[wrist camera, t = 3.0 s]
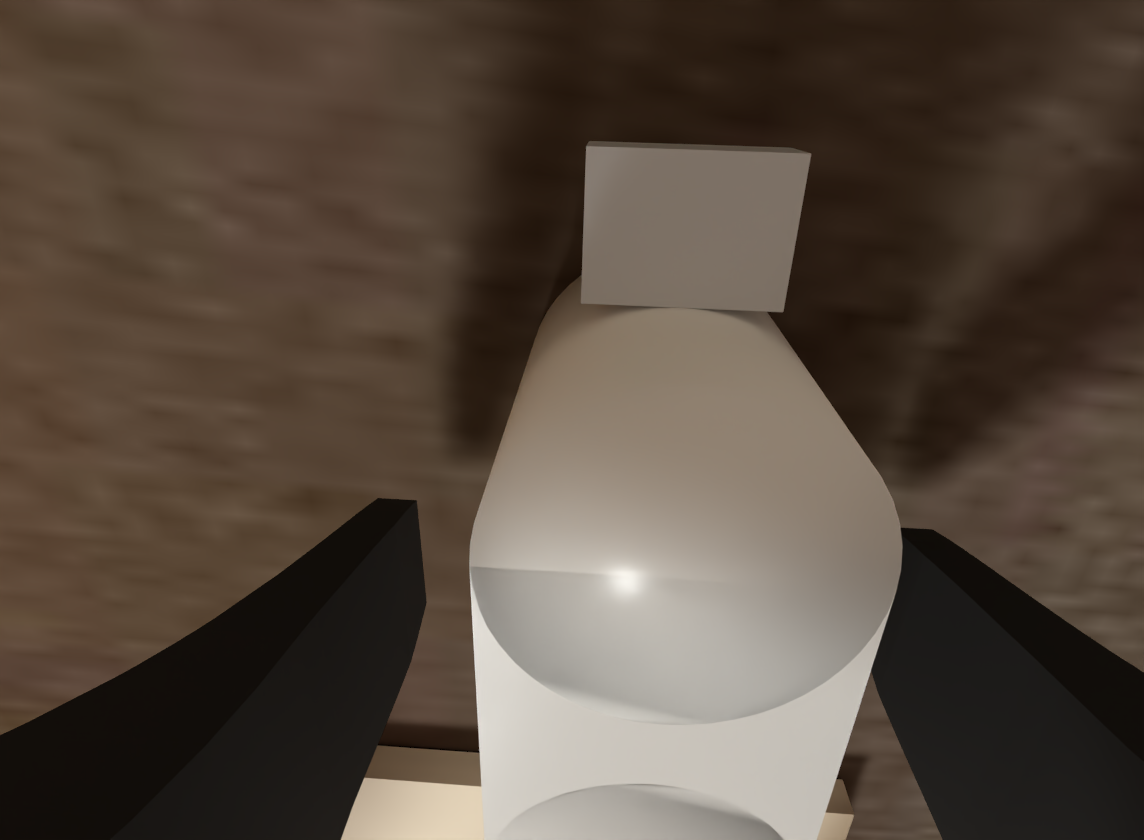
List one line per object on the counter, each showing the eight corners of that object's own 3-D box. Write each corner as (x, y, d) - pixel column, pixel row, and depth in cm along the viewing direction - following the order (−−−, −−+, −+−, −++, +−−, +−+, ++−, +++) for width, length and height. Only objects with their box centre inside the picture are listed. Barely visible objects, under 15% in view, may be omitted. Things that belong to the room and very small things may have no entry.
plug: (530, 129, 9) (447, 163, 5) (821, 139, 9) (1027, 184, 4) (531, 676, 14) (491, 952, 9) (721, 689, 14) (773, 978, 9)
